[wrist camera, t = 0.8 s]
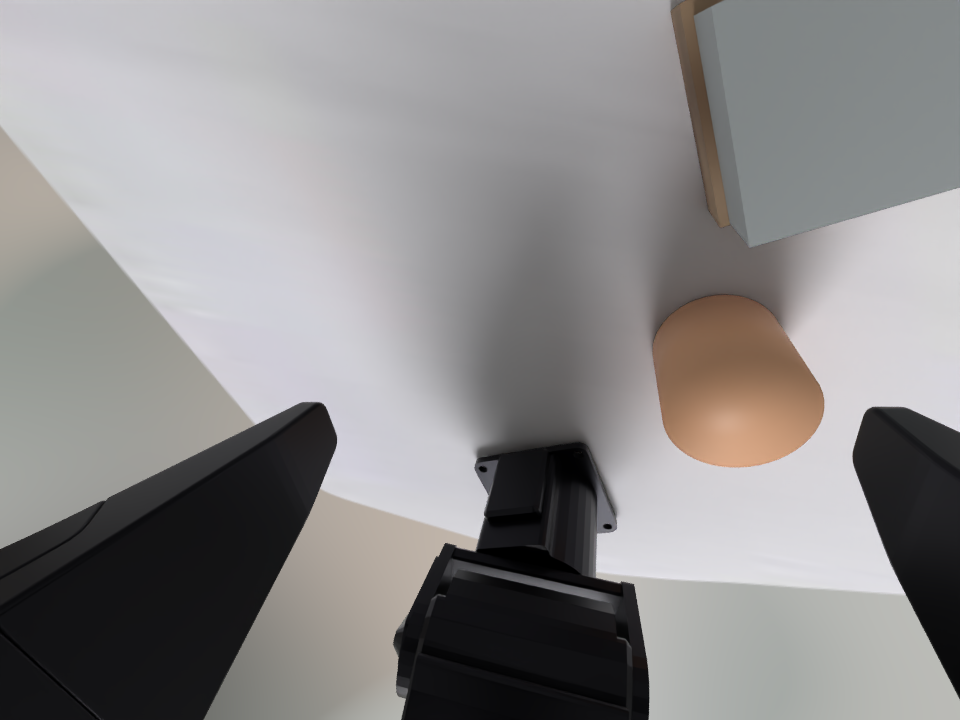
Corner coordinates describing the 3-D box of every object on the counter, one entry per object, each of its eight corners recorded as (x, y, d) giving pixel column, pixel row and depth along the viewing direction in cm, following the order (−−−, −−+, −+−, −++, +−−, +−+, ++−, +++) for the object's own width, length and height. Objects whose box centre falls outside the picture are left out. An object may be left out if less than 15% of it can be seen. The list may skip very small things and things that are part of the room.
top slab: (967, 149, 13) (1035, 165, 11) (729, 223, 15) (749, 248, 13) (979, -121, 10) (1072, -167, 8) (693, 15, 13) (711, 6, 11)
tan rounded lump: (788, 383, 20) (830, 456, 16) (666, 405, 22) (678, 475, 18) (774, 279, 18) (817, 335, 14) (640, 313, 20) (647, 371, 16)
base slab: (927, 137, 15) (977, 149, 13) (707, 208, 17) (720, 227, 15) (930, -116, 12) (995, -152, 10) (669, 12, 15) (679, 3, 13)
